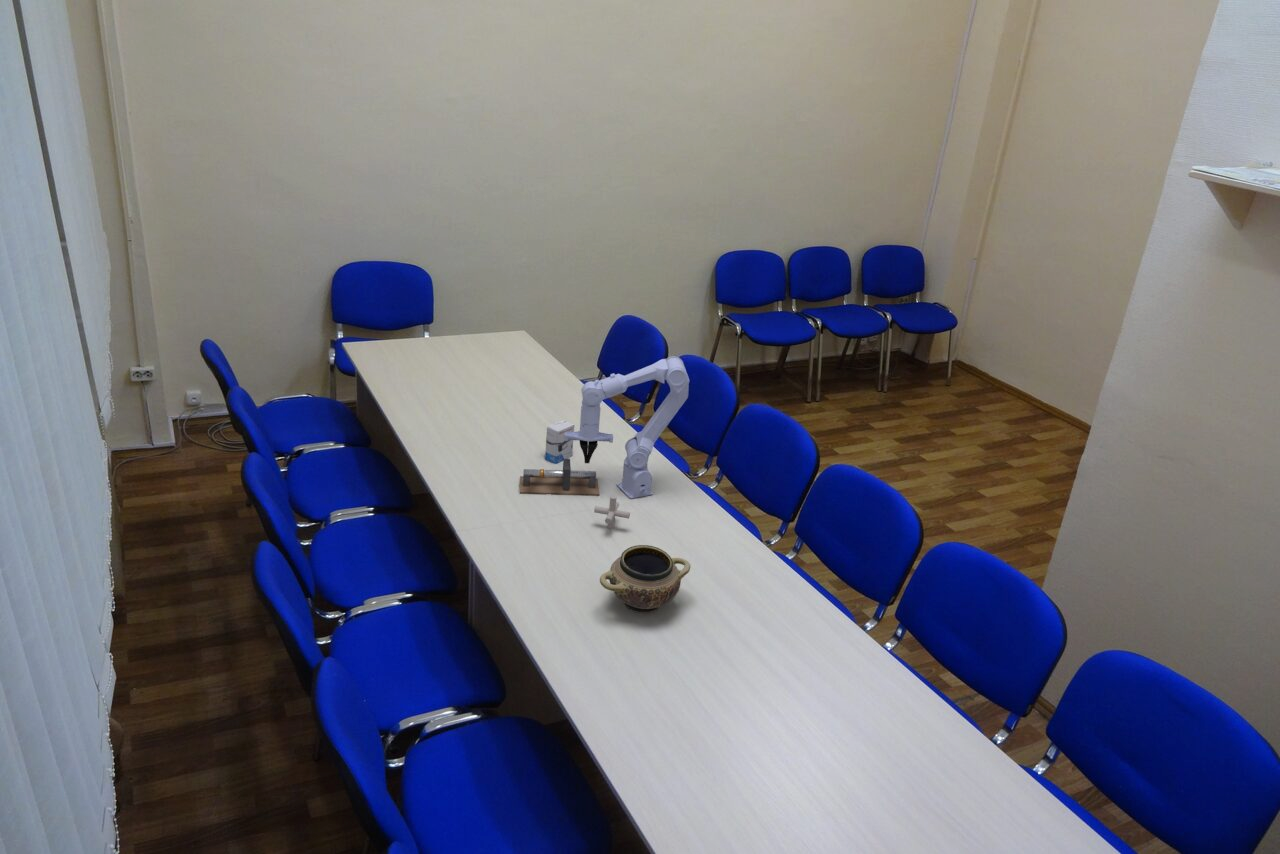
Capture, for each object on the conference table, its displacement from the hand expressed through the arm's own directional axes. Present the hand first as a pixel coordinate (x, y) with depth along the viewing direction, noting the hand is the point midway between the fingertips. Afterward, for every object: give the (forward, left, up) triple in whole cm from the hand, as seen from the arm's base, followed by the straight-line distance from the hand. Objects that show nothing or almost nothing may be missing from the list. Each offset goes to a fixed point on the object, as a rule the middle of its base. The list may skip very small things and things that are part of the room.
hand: (586, 461), depth 280 cm
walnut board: (+3, +7, -9) cm, 12 cm away
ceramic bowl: (-59, +12, -9) cm, 61 cm away
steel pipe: (+3, +7, -9) cm, 12 cm away
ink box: (+21, -1, -9) cm, 23 cm away
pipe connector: (-24, +3, -9) cm, 26 cm away
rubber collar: (+2, +5, -9) cm, 11 cm away
